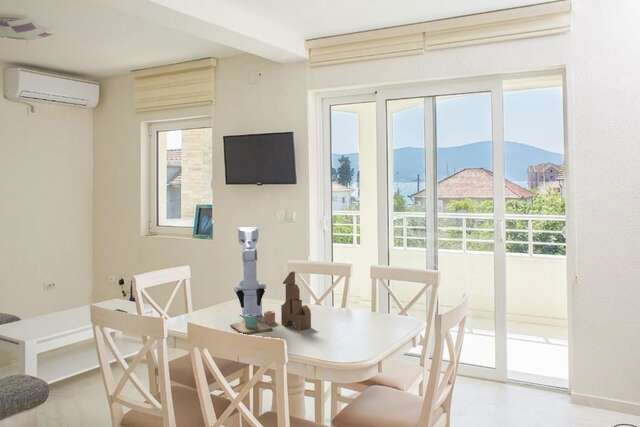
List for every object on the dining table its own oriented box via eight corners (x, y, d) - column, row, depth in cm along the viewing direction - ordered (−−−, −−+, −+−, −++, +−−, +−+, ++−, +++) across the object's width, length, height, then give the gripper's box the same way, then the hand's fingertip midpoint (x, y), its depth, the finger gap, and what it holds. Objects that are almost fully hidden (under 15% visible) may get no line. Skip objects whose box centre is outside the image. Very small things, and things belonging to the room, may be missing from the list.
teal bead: (254, 324, 224) (254, 313, 224) (258, 326, 220) (258, 315, 220) (243, 325, 222) (243, 314, 222) (247, 328, 218) (247, 316, 218)
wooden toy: (312, 327, 221) (311, 272, 221) (300, 330, 217) (299, 273, 216) (290, 321, 233) (289, 268, 232) (279, 324, 228) (278, 270, 228)
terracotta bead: (270, 320, 234) (269, 310, 234) (277, 322, 231) (277, 312, 231) (262, 323, 231) (261, 312, 230) (269, 324, 227) (269, 313, 227)
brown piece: (259, 322, 232) (259, 308, 231) (272, 330, 217) (272, 315, 217) (230, 326, 225) (230, 312, 225) (242, 334, 211) (241, 319, 211)
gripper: (237, 278, 214) (237, 310, 214) (268, 275, 220) (269, 306, 221) (232, 276, 220) (232, 306, 220) (262, 273, 227) (263, 303, 227)
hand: (250, 306), depth 221 cm, fingers open, 7 cm apart
